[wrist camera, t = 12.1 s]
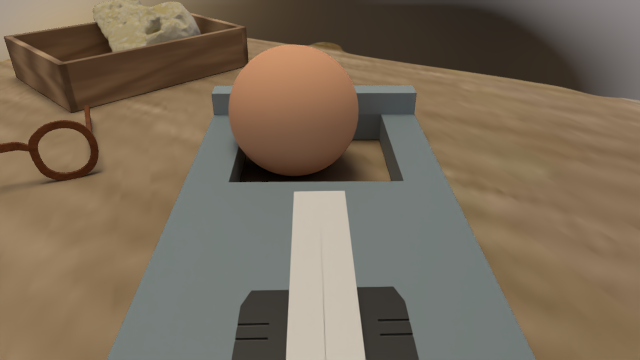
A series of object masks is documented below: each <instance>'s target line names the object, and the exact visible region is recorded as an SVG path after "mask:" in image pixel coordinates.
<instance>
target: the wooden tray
mask: <svg viewBox="0 0 640 360" xmlns="http://www.w3.org/2000/svg"><path fill="white" fill-rule="evenodd" d="M190 14H191V15H192V17H193V18H194V20H195V22H196V24H197V26H198V28H199V30H200V33H201V35H196V36H191V37H186V38H181V39H176V40H171V41H166V42H161V43H156V44H151V45H146V46H141V47H136V48H132V49H127V50H122V51H117V52H112V49H111V47H110V46H109V41H108V39H106V38H105V36H104V34H103V33H102V31H101V29H100V27H99V26H98V24H97V22H93V23H87V24H80V25H74V26H68V27H61V28H55V29H48V30H42V31H36V32H29V33H23V34H17V35H11V36H4V39H5V42H6V46H7V49H8V52H9V55H10V58H11V61H12V64H13V68H14V71H15V74H16V77H17V78H18V79H20V80H21V81H23V82H25V83H26V84H28V85H29V86H31V87H32V88H34V89H35V90H37V91H39V92H40V93H42V94H43V95H45V96H46V97H48V98H50V99H51V100H53V101H54V102H56V103H57V104H59V105H61V106H62V107H64V108H65V109H67V110H68V111H70V112H71V113H72V112H76V111H80V110H83V109H85V105H89V108H91V107H94V106H98V105H102V104H106V103H109V102H113V101H117V100H121V99H124V98H128V97H132V96H136V95H139V94H143V93H147V92H151V91H154V90H158V89H162V88H166V87H169V86H173V85H177V84H180V83H184V82H188V81H192V80H195V79H199V78H203V77H207V76H210V75H214V74H218V73H222V72H225V71H229V70H233V69H237V68H240V67H244V66H246V65H247V64H248V49H247V35H246V27H243V26H240V25H236V24H232V23H228V22H224V21H220V20H216V19H212V18H208V17H204V16H200V15H197V14H193V13H190Z"/></svg>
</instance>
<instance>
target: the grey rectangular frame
mask: <svg viewBox="0 0 640 360" xmlns="http://www.w3.org/2000/svg"><path fill="white" fill-rule="evenodd" d="M232 87H233V86H215V88H214V90H213V92H212V102H213V111H214V116H213V118H212V121H211V123H210V125H209V127H208V130H207V132H206V134H205V136H204V139H203V141H202V143H201V146H200V148H199V150H198V152H197V155H196V157H195V159H194V162H193V164H192V166H191V168H190V171H189V173H188V175H187V178H186V180H185V182H184V184H183V187H182V189H181V191H180V193H179V196H178V198H177V200H176V203H175V205H174V207H173V209H172V212H171V214H170V216H169V219H168V221H167V223H166V225H165V228H164V230H163V232H162V235H161V237H160V239H159V241H158V244H157V246H156V248H155V250H154V253H153V255H152V257H151V260H150V262H149V264H148V266H147V269H146V271H145V273H144V276H143V278H142V280H141V282H140V285H139V287H138V289H137V292H136V294H135V296H134V298H133V301H132V303H131V305H130V308H129V310H128V312H127V314H126V317H125V319H124V321H123V323H122V326H121V328H120V330H119V333H118V335H117V337H116V339H115V342H114V344H113V346H112V349H111V351H110V353H109V355H108V358H107V360H232V354H233V348H234V342H235V336H236V329H237V326H238V324H237V323H238V317H239V311H240V306H241V304H242V303H243V302H244V300H245V299H246V297H247V296H248V294H249V293H250V292H251V290H289V285H290V265H291V244H292V223H293V202H294V192H300V191H345V197H346V205H347V213H348V222H349V230H350V238H351V246H352V254H353V262H354V270H355V278H356V286H357V287H389V286H393V287H394V288H395V289H396V290H397V292H398V293H399V294H400V295H401V297H402V298H403V299H404V300H405V303H406V307H407V311H408V315H409V322H410V324H411V328H412V332H413V337H414V340H415V345H416V349H417V353H418V357H419V360H536V358H535V356H534V354H533V352H532V350H531V348H530V346H529V344H528V342H527V340H526V338H525V336H524V334H523V332H522V330H521V328H520V326H519V324H518V322H517V320H516V318H515V316H514V314H513V312H512V310H511V308H510V306H509V304H508V302H507V300H506V298H505V296H504V294H503V292H502V290H501V288H500V286H499V284H498V282H497V280H496V278H495V276H494V274H493V272H492V270H491V268H490V266H489V264H488V262H487V260H486V258H485V256H484V254H483V252H482V250H481V248H480V246H479V244H478V242H477V240H476V238H475V236H474V234H473V232H472V230H471V228H470V226H469V224H468V222H467V220H466V217H465V215H464V213H463V211H462V209H461V207H460V205H459V203H458V201H457V199H456V197H455V195H454V193H453V191H452V189H451V187H450V185H449V183H448V181H447V179H446V177H445V175H444V173H443V171H442V169H441V167H440V165H439V163H438V161H437V159H436V157H435V155H434V153H433V151H432V149H431V147H430V145H429V143H428V141H427V139H426V137H425V135H424V133H423V131H422V129H421V127H420V125H419V123H418V121H417V119H416V117H415V115H414V111H415V102H416V91H415V89H414V88H413V86H412V85H398V86H354V88H355V91H356V94H357V99H358V108H359V112H358V122H357V128H356V131H355V134H354V136H353V139H352V140H369V139H379V140H380V144H381V147H382V150H383V154H384V157H385V160H386V164H387V167H388V171H389V174H390V177H391V181H347V182H239V181H240V177H241V173H242V169H243V165H244V160H245V156H246V154H245V153H244V152H243V151H242V149H241V148H240V147H239V145H238V143H237V142H236V140H235V138H234V135H233V133H232V130H231V126H230V121H229V99H230V94H231V90H232Z"/></svg>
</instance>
